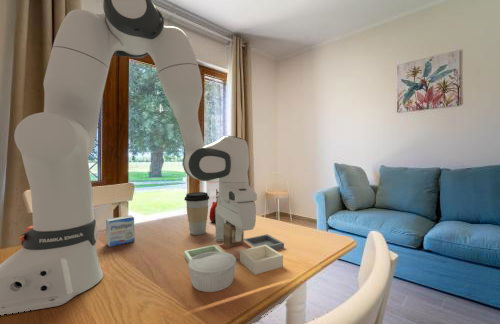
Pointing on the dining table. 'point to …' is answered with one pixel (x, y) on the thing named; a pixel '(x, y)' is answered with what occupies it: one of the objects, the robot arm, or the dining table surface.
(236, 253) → the tray middle terracotta
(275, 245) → the tray far charcoal
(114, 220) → the medicine box
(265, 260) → the cream square open box
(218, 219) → the skincare box
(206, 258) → the ramekin
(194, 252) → the tray near sage
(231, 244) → the tan block
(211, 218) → the red clay folk toy
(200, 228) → the coffee cup
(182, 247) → the dining table surface
